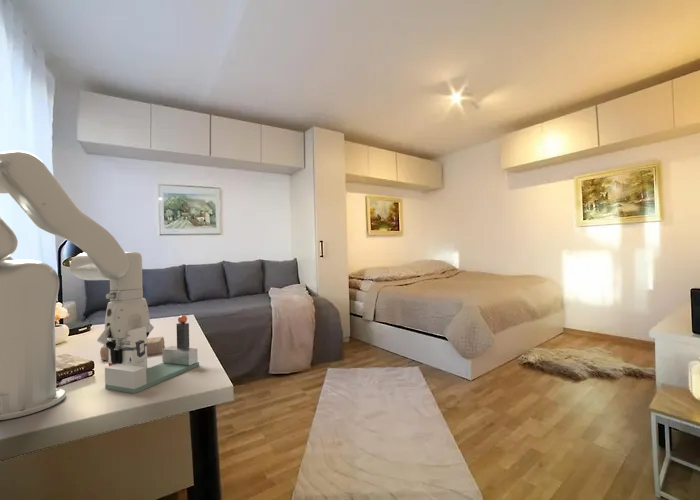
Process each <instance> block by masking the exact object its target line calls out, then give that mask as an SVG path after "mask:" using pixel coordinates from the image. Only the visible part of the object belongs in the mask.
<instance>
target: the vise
mask: <svg viewBox="0 0 700 500" xmlns="http://www.w3.org/2000/svg"><path fill="white" fill-rule="evenodd" d="M199 366H200V362H199V361H198V362H196V363H194V364H191V365H181V364H173V363H165V362H161V363H158V364H156V365H153V366H151V367H147V368H146V367H140V366H132V365H125V364H115V365H112V366H109V365H108V366H106V367H104V383H105V385H104V387H105V389H108V390H112V391H116V392H117V391H118V392H124V393H130V394H136V393H139V392H141V391H143V390H147V388H150V387H152V386H155V385H157V384H160V383H162V382H165V381H166V380H168V379H171V378H173V377H175V376H178V375H181V374H183V373H185V372H187V371H190V370H192V369H194V368H197V367H199Z"/></svg>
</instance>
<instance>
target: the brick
mask: <svg viewBox="0 0 700 500" xmlns="http://www.w3.org/2000/svg"><path fill="white" fill-rule="evenodd" d="M164 348H166V347H165V337H164V336H158V337H157V336H156V337H147V356H149V355H157V354H162V349H164ZM99 356H100V360H101V361H109V349H108V348H107V347H106V346H104V345H103V346H102V347H101V348H100V350H99Z"/></svg>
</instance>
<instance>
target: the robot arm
mask: <svg viewBox="0 0 700 500" xmlns="http://www.w3.org/2000/svg"><path fill="white" fill-rule="evenodd" d="M0 194H9V195H10V197H11V198H12V199H13V200H14V201H15V202H16V203H17V205H18V206H19V208H20V209H21V210H23V211H24V213H25V214H26V215H27V216H28V218H29V219H30V220H31V221H32V222H33V223H34V224H35V226H36V227H38V228H39V229H41V230H43V231H45V232H47V233H49V234H52V235H54V236H57V237H59V238H62V239H65V240H66V241H68V242H70V243H72V244H73V245H75V246H76V247H77V248H79V249H80V250H82V253H79V254H77V255H76V256H74V257H73V258H72V260H71V261H70V263H69V270H70V272H71V274H72V275H73V276H74V277H76V278H78V279H81V280H83V281H109V293H106V295H105V299H106V300H108V299H109V302H107V307H106V310H105V311H106V312H105V318H104V330H103V331H102V333H101V334H100V336H99V337H98V338H97V340H96V341H97V342H98V343H99V344H101V345H103V346H106V347H107V348H108V349H110V350H111V361H112V364H122V350H121V349H119V348H120V345H121V342H122V339H124V338H127V332H128V331H131V330H134V329H137V328H141V327H146V333H147V338H149V335H150V334H151V332H152V331H153V330H154V328H155V327H154V325H152V324H151V320H150V319H151V318H150V312H149V311H150V310H149V305H148V303H147V299H146V298H145V297H143V296H144V295H143V294H144V293H143V291H144V290H143V289H144V288H143V256H142V254H141V253H139V252H137V251H124V249H123V247H122V245H120V243H119V242H118V240H117V239H116V238H115V237H114V236H113V235H112V234H111V232H109V231H108V230H107V229H106V228H105V227H104V226H102V225H101V224H99V223H98V222H96V221H95V220H94V219H93V218H91V217H90V216H88V215H87V214H86V213H84V212H82V211H81V210H80V209H79V208H78V207H77V205H76V204H75V203H74V202H73V201H72V199H71V198H70V197H69V195H68V194H67V192H66V191H65V190H64V188H63V187H62V186H61V184H60V183H59V181H58V180H57V179H56V177H55V176H54V175H53V173H52V172H51V171H50V170H49V168H48V167H47V165H46V164H45V163H44V162H43V161H42V160H41V159H40V158H39V157H38V156H37V155H35V154H33V153H30V152H28V151H23V150H8V151H1V152H0ZM17 247H18V237H17V236H16V234H15V232H14V231H13V229H12V228H11V227H10V226H9V225H8V224H7V223H6V222H5V221H4V219H2V218H1V217H0V421H4V420H11V419H15V418H21V417H24V416H27V415H32V414H36V413H38V412H41V411H44V410H46V409H49V408H51V407H53V406H55V405H57V404H59V403H60V402H62V401H63V400H64V399H65V398H66V390H64V389H63V388H57V360H56V359H57V354H56V350H57V349H56V347H57V346H56V343H57V342H56V307H57V301H58V295H59V291H60V278H59V275H58V273H57V271H56V270H55V269H54V267H52V266H51V265H49V264H48V263H45V262H43V261H39V260H35V259H13V258H12V257H11V256H12V255H13V254H14V253H15V252H16V250H17ZM108 338H111V340H110V341H109V340H108Z"/></svg>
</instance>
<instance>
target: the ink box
mask: <svg viewBox="0 0 700 500" xmlns="http://www.w3.org/2000/svg"><path fill="white" fill-rule="evenodd" d="M147 338H148V337H147V333H146V327H141V328H137V329H134V330H131V331H128V332H127V338H124V339H122V342H121V345H120V348H119V349H121V350H122V364H125V365H132V366H140V367H146V369H148V355H147ZM107 339H108V340H109V341H110V340H111V338H107ZM112 365H115V364H112V361H111V350H110V349H109V360H108V367H109V366H112Z"/></svg>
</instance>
